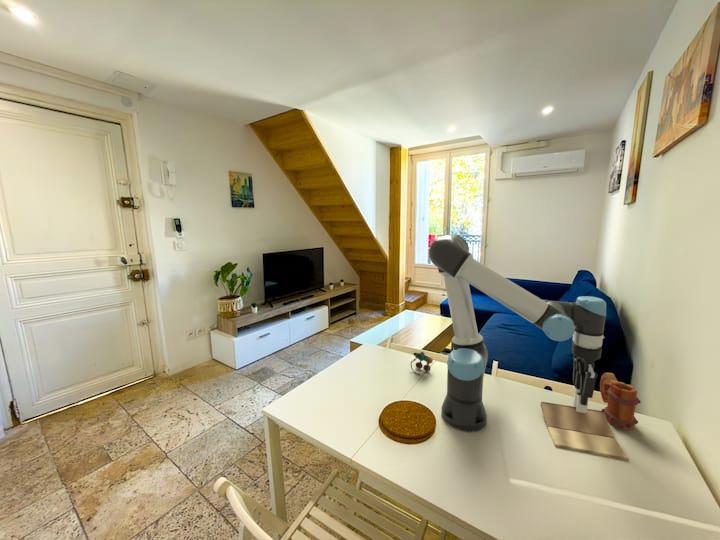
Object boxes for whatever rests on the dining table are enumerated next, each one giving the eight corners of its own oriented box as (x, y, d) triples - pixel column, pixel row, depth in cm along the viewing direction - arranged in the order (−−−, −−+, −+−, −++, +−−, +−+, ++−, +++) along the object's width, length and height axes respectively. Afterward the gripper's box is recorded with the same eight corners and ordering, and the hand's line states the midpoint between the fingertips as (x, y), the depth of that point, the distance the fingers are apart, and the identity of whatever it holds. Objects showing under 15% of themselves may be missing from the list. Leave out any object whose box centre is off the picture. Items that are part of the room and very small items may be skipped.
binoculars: (430, 378, 133) (436, 357, 135) (422, 375, 126) (428, 352, 129) (412, 372, 139) (418, 351, 142) (404, 368, 132) (410, 347, 135)
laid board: (554, 448, 88) (554, 443, 88) (546, 430, 96) (547, 425, 95) (628, 463, 82) (628, 458, 82) (613, 442, 90) (614, 437, 90)
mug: (643, 436, 92) (649, 393, 89) (613, 433, 94) (619, 390, 91) (613, 408, 106) (618, 369, 104) (587, 405, 108) (592, 368, 105)
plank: (546, 428, 96) (547, 425, 95) (540, 404, 104) (541, 401, 103) (612, 440, 90) (614, 437, 90) (601, 413, 98) (602, 411, 97)
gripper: (612, 356, 86) (603, 426, 90) (591, 336, 100) (584, 398, 104) (582, 353, 88) (574, 422, 92) (565, 334, 102) (559, 394, 106)
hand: (579, 409), depth 98 cm, fingers open, 2 cm apart
